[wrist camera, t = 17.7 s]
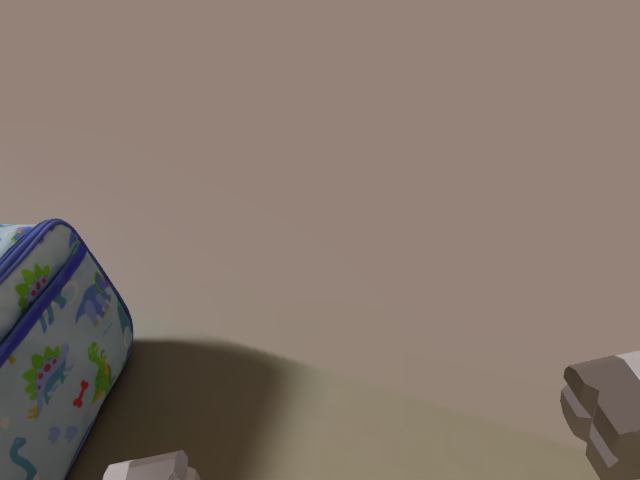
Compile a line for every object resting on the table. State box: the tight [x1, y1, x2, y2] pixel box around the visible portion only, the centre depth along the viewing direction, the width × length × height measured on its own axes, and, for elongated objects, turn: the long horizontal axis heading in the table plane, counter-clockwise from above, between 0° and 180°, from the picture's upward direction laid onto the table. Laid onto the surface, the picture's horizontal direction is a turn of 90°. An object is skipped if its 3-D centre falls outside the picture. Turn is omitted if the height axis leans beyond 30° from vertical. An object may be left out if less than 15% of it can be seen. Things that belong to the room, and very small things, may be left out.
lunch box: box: [0, 219, 133, 480], centre depth 46 cm, size 26×11×21 cm, turn 170°
